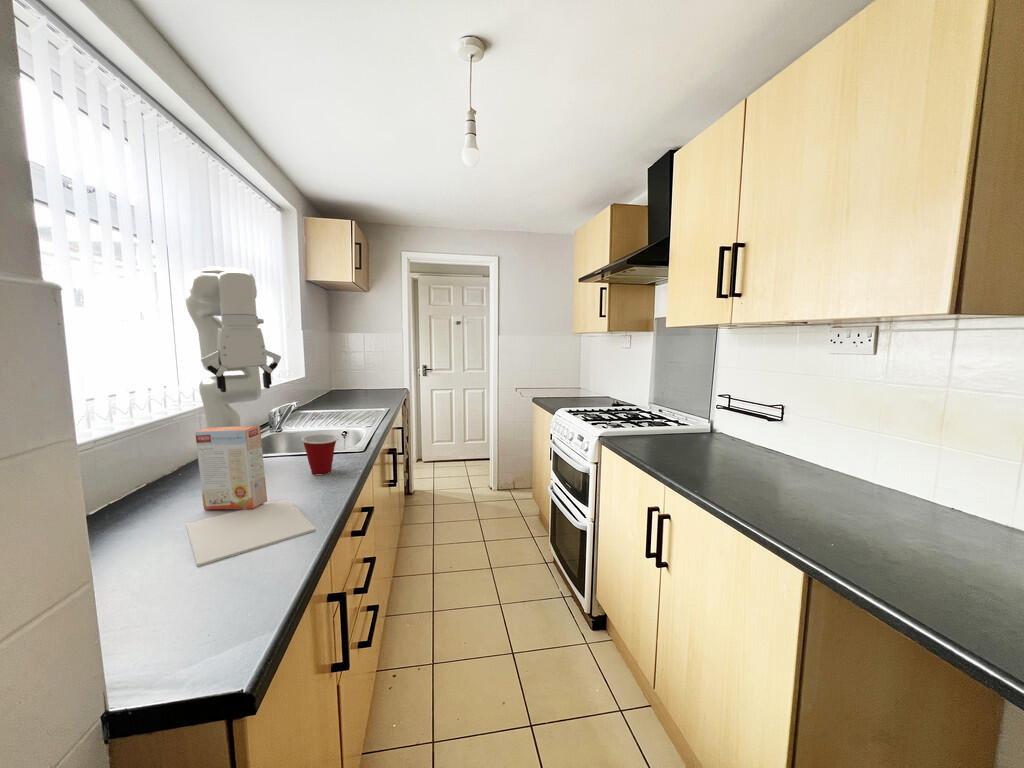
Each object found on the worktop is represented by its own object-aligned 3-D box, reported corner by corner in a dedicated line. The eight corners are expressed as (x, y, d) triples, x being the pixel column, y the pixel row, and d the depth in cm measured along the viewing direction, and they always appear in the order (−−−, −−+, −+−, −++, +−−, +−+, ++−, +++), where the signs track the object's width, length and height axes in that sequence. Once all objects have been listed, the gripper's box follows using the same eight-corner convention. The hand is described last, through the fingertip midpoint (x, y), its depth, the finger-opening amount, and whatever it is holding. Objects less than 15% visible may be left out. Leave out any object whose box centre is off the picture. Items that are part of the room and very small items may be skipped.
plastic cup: (330, 478, 132) (328, 441, 130) (297, 478, 132) (294, 441, 131) (345, 467, 142) (343, 433, 141) (314, 467, 143) (312, 433, 141)
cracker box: (268, 501, 113) (261, 425, 111) (252, 510, 107) (244, 429, 105) (221, 501, 114) (212, 426, 112) (202, 510, 108) (193, 430, 106)
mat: (185, 525, 99) (185, 524, 99) (287, 500, 114) (287, 498, 114) (197, 566, 82) (197, 564, 82) (315, 530, 96) (315, 528, 96)
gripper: (273, 323, 114) (278, 385, 116) (195, 322, 102) (202, 391, 104) (282, 322, 108) (286, 387, 111) (199, 321, 97) (207, 394, 99)
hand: (245, 389), depth 107 cm, fingers open, 9 cm apart
